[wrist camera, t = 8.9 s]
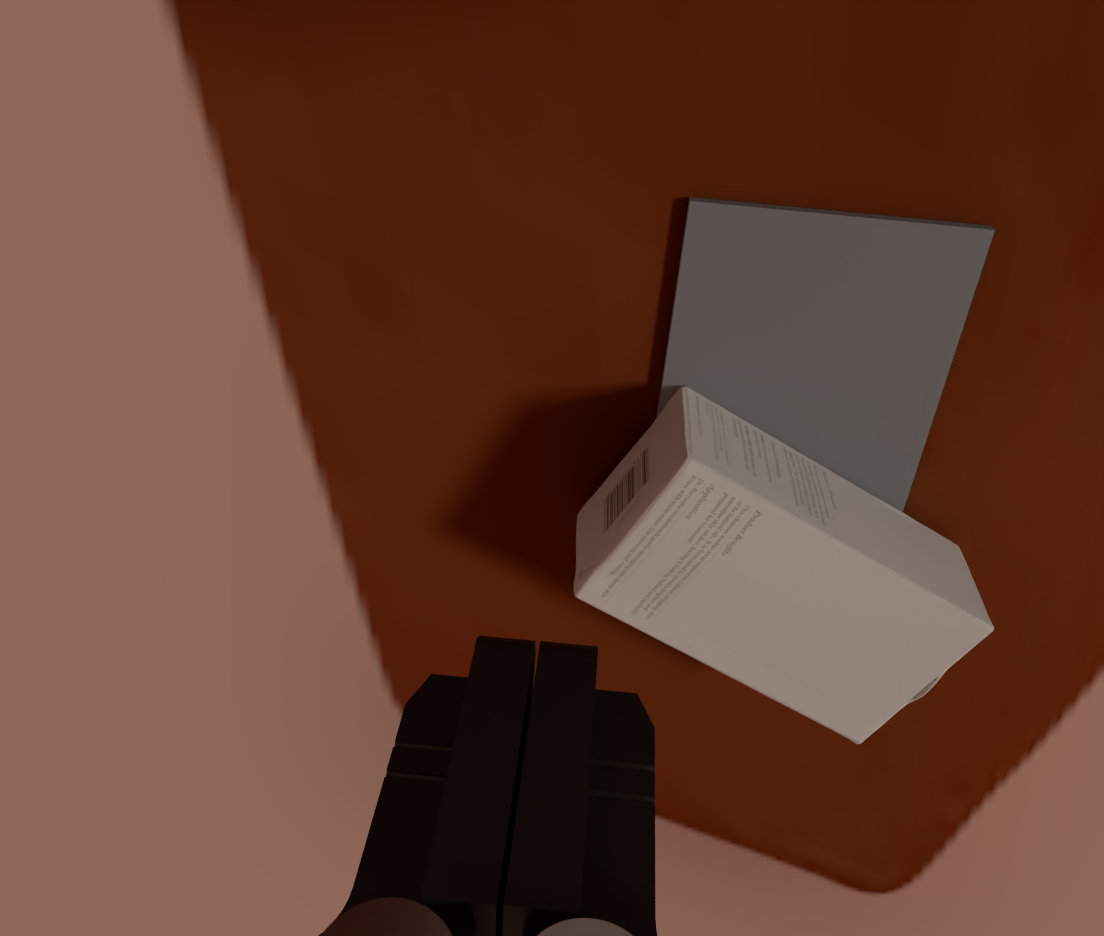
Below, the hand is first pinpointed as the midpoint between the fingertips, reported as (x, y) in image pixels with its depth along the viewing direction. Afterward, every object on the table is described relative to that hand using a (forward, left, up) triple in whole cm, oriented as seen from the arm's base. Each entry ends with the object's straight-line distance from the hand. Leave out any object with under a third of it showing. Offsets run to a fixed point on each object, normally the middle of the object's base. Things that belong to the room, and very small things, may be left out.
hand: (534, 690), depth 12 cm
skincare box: (-2, +12, -24) cm, 26 cm away
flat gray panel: (-9, +10, -27) cm, 30 cm away
